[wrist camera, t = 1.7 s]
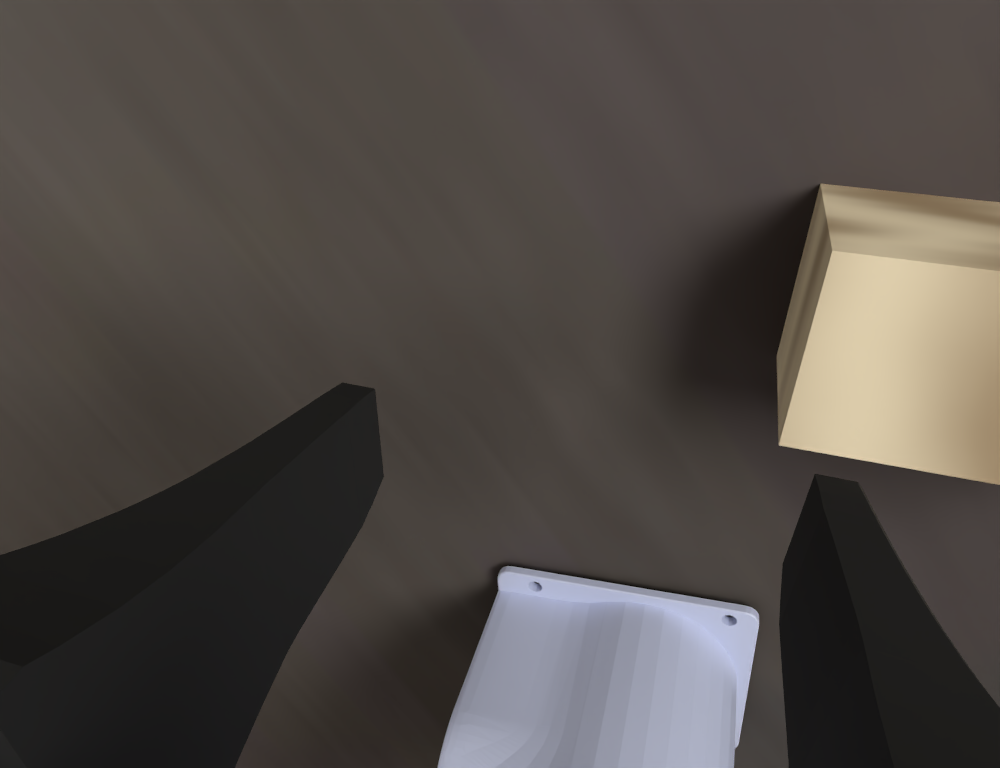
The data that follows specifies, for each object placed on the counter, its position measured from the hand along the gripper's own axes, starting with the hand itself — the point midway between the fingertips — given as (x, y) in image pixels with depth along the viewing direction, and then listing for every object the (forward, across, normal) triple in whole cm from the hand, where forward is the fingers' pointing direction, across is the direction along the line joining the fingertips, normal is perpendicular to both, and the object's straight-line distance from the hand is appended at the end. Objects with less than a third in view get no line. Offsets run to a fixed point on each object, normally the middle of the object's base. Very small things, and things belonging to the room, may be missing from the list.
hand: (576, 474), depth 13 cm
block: (+10, -8, +1) cm, 14 cm away
